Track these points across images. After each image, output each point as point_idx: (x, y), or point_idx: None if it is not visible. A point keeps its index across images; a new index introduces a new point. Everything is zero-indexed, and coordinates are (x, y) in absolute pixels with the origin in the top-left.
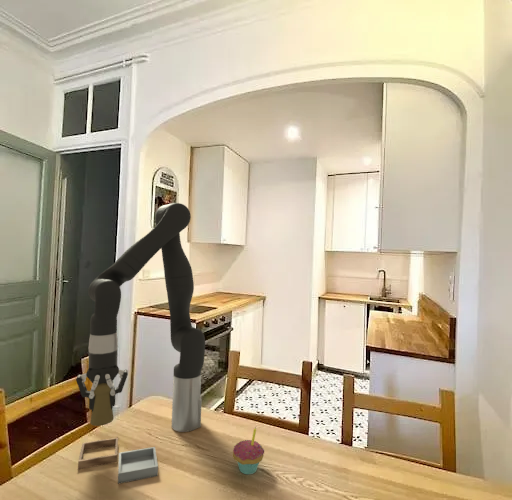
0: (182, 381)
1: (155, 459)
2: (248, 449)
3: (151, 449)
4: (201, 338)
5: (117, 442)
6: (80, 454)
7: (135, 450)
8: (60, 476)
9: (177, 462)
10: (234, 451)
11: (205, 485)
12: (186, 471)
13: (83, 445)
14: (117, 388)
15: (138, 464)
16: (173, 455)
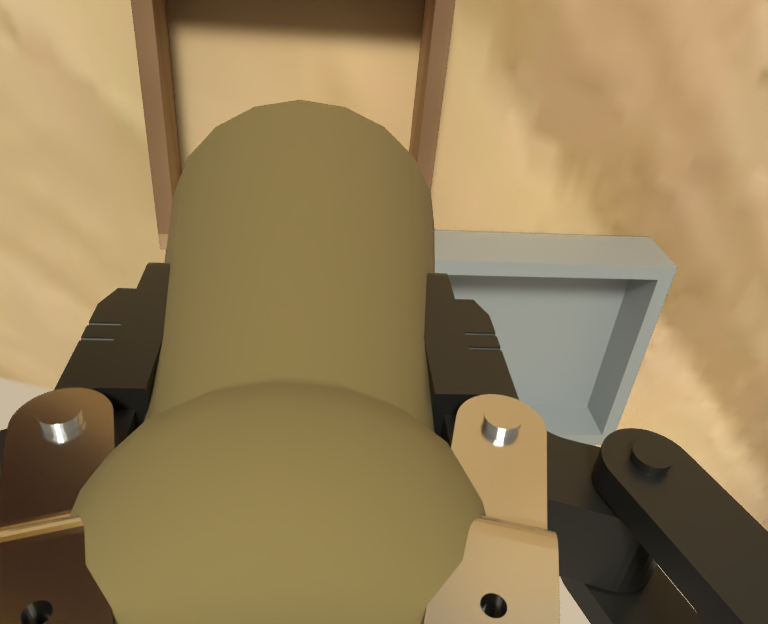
0: None
1: (622, 392)
2: None
3: (645, 274)
4: None
5: (442, 76)
6: (154, 159)
7: (544, 270)
8: (76, 262)
9: (729, 339)
10: None
11: (739, 503)
12: (726, 413)
13: (146, 10)
14: (581, 562)
15: (530, 317)
16: (747, 271)
